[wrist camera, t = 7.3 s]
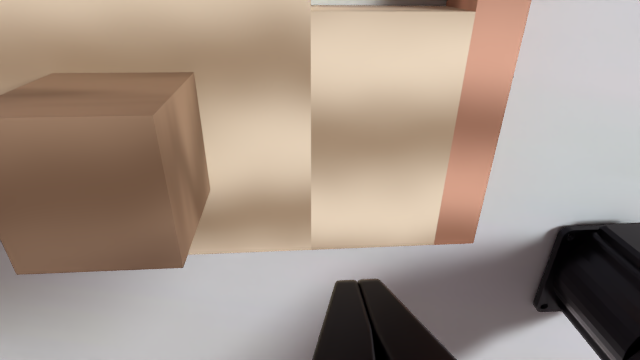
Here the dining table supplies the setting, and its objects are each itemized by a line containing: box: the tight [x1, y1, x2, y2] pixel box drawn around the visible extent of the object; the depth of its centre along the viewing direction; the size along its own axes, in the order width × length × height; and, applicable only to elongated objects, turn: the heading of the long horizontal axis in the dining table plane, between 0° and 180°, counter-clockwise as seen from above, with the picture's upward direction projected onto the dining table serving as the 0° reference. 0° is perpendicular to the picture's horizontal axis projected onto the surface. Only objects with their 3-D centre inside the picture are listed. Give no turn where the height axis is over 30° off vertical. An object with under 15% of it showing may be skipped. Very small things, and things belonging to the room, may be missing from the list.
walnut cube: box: [0, 72, 210, 275], centre depth 13 cm, size 5×5×5 cm
